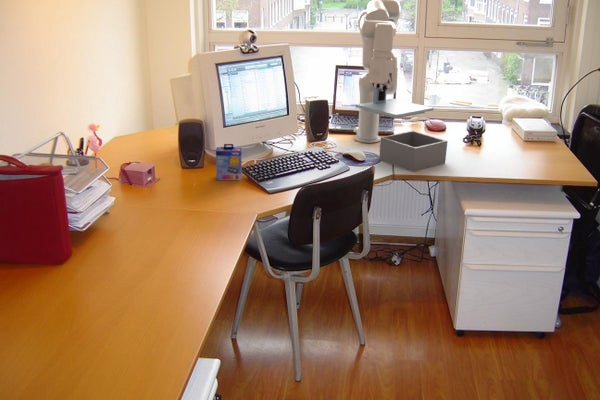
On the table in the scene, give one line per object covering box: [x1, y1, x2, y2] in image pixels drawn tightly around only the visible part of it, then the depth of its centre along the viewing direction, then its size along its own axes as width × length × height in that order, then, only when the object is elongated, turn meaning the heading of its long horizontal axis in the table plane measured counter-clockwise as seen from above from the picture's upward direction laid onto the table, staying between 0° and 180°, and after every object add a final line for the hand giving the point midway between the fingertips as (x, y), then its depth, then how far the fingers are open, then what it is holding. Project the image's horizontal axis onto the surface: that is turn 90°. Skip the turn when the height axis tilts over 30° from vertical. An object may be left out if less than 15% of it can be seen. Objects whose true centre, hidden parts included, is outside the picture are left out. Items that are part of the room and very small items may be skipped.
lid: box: [355, 88, 434, 119], centre depth 269 cm, size 22×22×8 cm
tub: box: [378, 130, 449, 173], centre depth 286 cm, size 20×20×10 cm
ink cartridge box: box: [215, 143, 242, 181], centre depth 259 cm, size 10×6×14 cm, turn 95°
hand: (379, 99), depth 275 cm, fingers closed on lid, 1 cm apart
